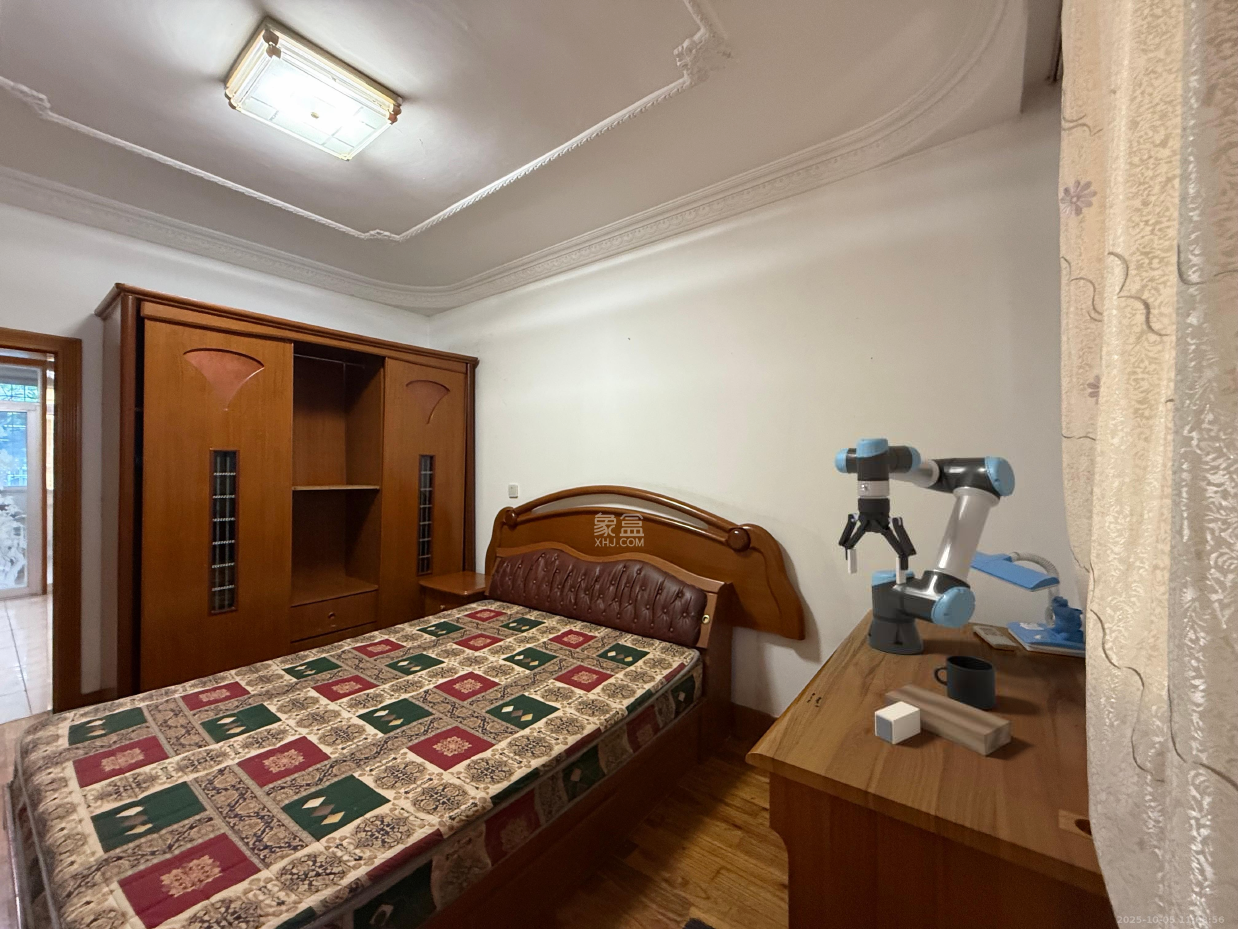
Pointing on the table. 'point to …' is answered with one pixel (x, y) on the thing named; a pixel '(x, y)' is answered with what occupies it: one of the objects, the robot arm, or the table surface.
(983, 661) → the mug
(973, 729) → the wooden plank
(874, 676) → the table surface
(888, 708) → the block
